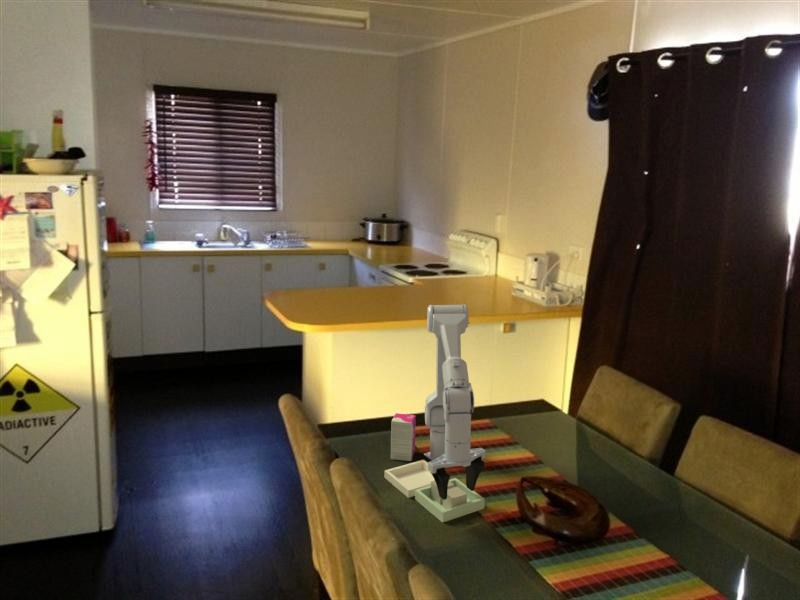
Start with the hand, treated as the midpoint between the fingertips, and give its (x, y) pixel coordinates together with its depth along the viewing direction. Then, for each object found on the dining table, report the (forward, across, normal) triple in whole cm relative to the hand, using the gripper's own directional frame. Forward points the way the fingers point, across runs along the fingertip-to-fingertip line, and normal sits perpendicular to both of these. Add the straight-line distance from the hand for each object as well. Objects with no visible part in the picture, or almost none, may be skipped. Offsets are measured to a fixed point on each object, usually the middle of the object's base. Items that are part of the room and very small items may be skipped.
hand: (456, 493), depth 157 cm
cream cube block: (+4, 0, +5) cm, 6 cm away
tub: (+4, 0, +2) cm, 5 cm away
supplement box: (+5, +3, +29) cm, 30 cm away
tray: (+4, -1, +15) cm, 16 cm away
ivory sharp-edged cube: (+4, 0, 0) cm, 4 cm away
